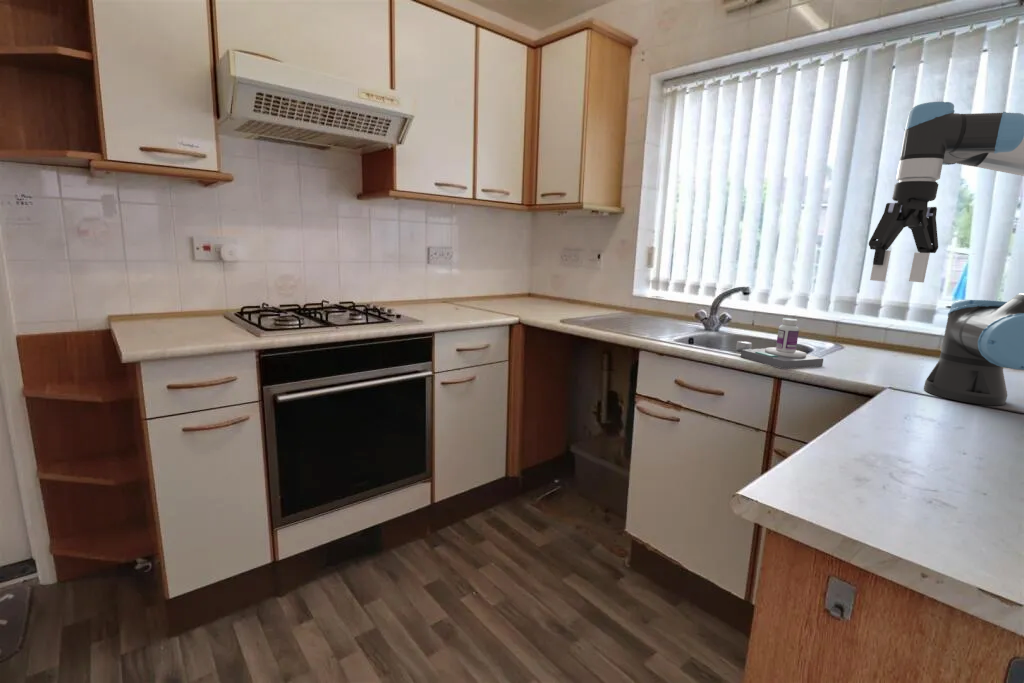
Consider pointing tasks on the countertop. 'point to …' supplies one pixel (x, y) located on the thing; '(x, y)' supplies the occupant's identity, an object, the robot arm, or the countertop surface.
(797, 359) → the scale
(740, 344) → the spacer
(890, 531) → the countertop surface
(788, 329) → the pill bottle
